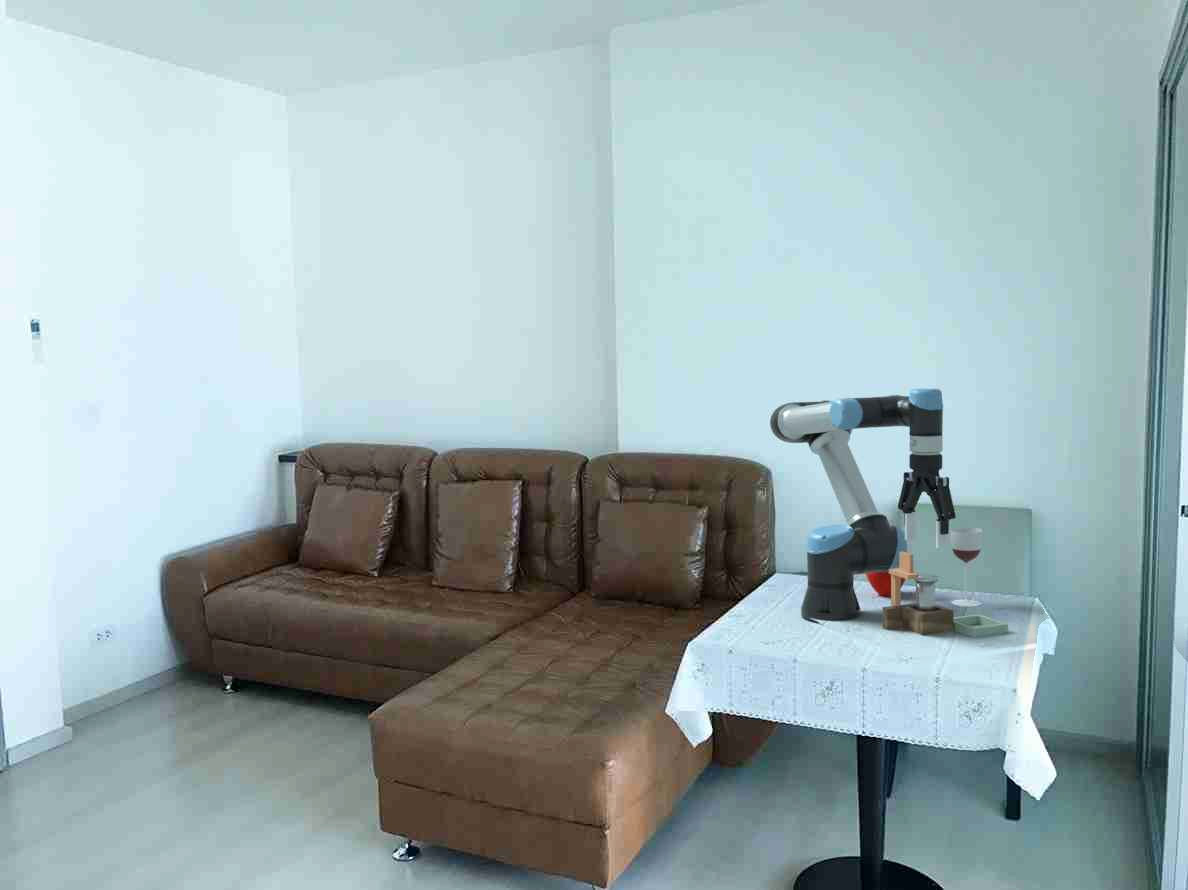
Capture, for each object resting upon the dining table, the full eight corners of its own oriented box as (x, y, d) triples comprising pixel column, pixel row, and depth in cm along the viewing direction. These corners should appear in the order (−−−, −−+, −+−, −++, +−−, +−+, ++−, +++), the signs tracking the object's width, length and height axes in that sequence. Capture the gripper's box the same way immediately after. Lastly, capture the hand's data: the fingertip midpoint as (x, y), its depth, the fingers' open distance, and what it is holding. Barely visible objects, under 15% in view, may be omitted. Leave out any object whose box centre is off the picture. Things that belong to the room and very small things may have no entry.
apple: (889, 587, 283) (889, 542, 282) (917, 596, 273) (917, 548, 272) (856, 592, 279) (856, 546, 278) (884, 601, 268) (884, 553, 267)
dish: (945, 630, 239) (945, 618, 239) (978, 625, 242) (978, 614, 242) (973, 641, 229) (973, 629, 229) (1007, 636, 233) (1007, 624, 232)
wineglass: (945, 604, 264) (945, 530, 262) (958, 597, 270) (958, 526, 268) (974, 608, 258) (974, 533, 256) (987, 601, 265) (987, 529, 263)
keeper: (888, 605, 239) (888, 551, 238) (899, 603, 240) (898, 550, 239) (908, 612, 232) (908, 557, 231) (918, 611, 233) (918, 555, 232)
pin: (908, 626, 240) (908, 574, 238) (927, 624, 242) (927, 572, 240) (923, 632, 234) (923, 579, 233) (942, 629, 236) (942, 577, 235)
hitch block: (882, 632, 239) (882, 607, 239) (928, 625, 244) (928, 601, 243) (906, 641, 231) (906, 616, 230) (953, 634, 235) (953, 609, 235)
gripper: (882, 450, 244) (883, 536, 246) (945, 458, 222) (945, 553, 224) (907, 448, 246) (907, 534, 248) (972, 456, 224) (972, 550, 226)
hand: (925, 543), depth 236 cm, fingers open, 11 cm apart
